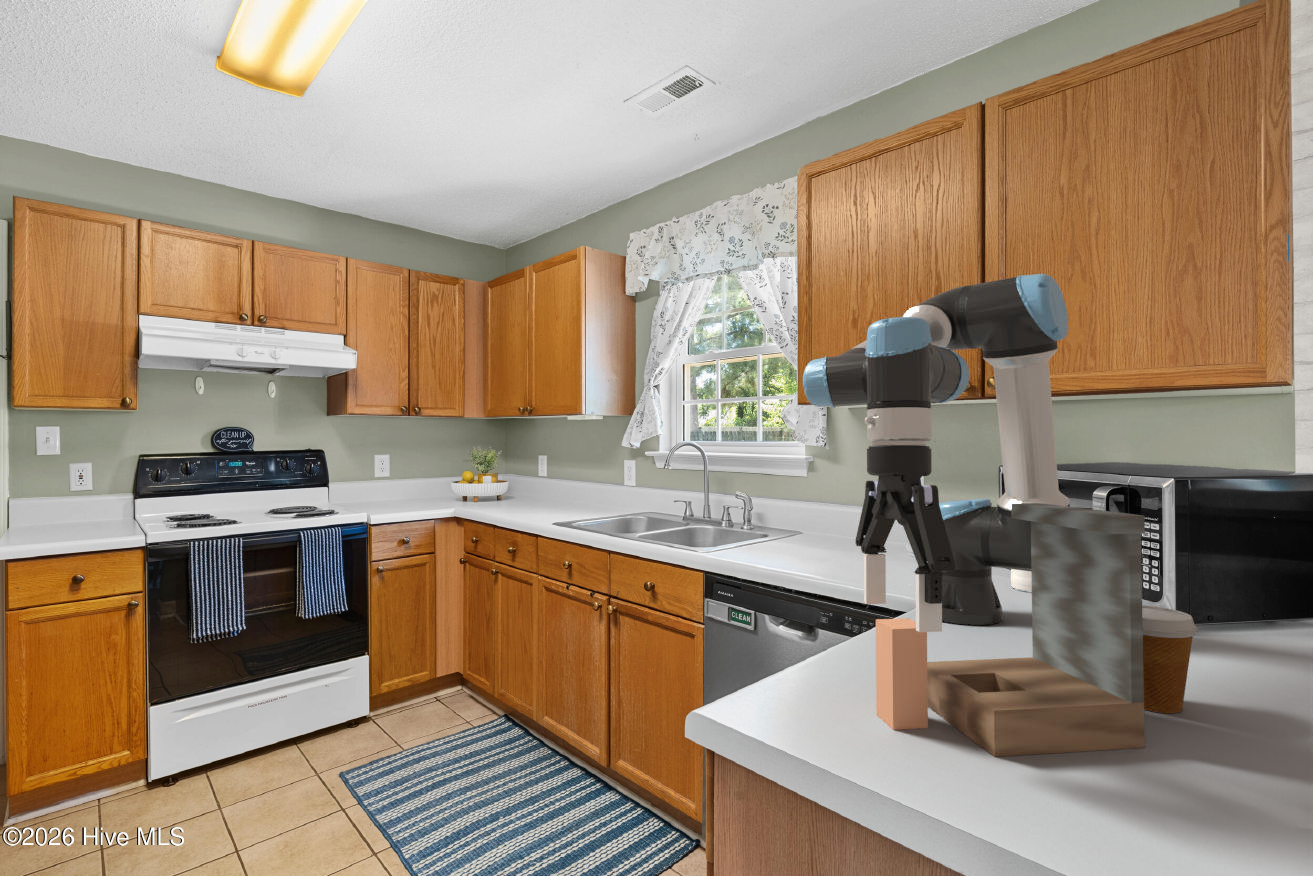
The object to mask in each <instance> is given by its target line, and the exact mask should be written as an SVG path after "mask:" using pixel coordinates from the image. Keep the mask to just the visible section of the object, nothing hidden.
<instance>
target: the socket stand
mask: <svg viewBox="0 0 1313 876" xmlns="http://www.w3.org/2000/svg"><path fill="white" fill-rule="evenodd" d="M1145 517H1146V516H1145V515H1142V514H1141V515H1140V514H1134V513H1125V512H1118V511H1117V512H1116V511H1109V510H1101V509H1100V510H1099V509H1093V508H1085V507H1084V508H1083V507H1076V506H1075V507H1074V506H1070V507H1067V506H1059V505H1050V504H1042V503H1011V518H1014V519H1021V520H1027V521H1031V571H1032V593H1031V620H1032V621H1031V623H1032V625H1031V627H1032V628H1031V629H1032V630H1031V632H1032V639H1031V640H1032V656H1030V657H1011V658H1010V657H1009V658H991V659H990V658H988V659H984V658H983V659H972V660H971V659H965V660H964V659H963V660H944V661H943V660H941V661H927V682H928V709H930V708H931V709H932V712H934V713H935V712H936V714H937V715H938V716H939V715H940V716H939V717H941V718H942V717H943V718H944V719H943V718H942V719H943V720H945V719H946V720H947V721H948V722H947V721H946V720H945V721H946V722H947V723H949V724H950V725H951V724H952V726H953V727H954V728H955V729H957V730H958V731H959V732H961V733H962V734H963V735H965V736H966V737H967V738H969V739H970V740H972V741H973V742H974V743H976V744H977V745H978V746H980V747H981V748H982V749H984V750H985V751H986V752H987V753H989V754H990V755H991V756H993V757H994V758H996V757H997V758H999V757H1000V758H1001V757H1012V756H1014V757H1015V756H1016V757H1017V756H1030V755H1045V754H1046V755H1047V754H1060V753H1076V752H1078V753H1079V752H1094V751H1107V750H1111V751H1112V750H1126V749H1141V748H1143V749H1144V748H1145V710H1144V680H1143V622H1142V605H1143V572H1142V571H1143V570H1142V568H1143V567H1142V564H1143V563H1142V534H1145V533H1146V531H1145V530H1146V528H1145V527H1146V524H1145V519H1146V518H1145ZM931 709H930V710H931Z"/></svg>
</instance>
